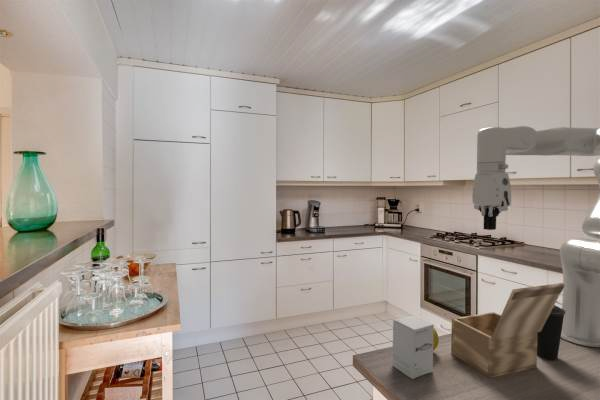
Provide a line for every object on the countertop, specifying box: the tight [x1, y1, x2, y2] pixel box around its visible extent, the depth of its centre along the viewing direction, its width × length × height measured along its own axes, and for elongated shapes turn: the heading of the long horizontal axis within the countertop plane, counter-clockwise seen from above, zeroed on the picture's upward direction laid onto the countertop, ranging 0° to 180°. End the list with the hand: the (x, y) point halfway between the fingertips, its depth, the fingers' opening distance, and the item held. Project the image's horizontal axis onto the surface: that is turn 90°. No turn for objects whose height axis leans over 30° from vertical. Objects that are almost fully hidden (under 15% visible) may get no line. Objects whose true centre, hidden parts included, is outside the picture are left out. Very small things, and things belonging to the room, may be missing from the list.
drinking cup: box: [537, 305, 566, 361], centre depth 91 cm, size 8×8×20 cm
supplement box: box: [391, 315, 435, 380], centre depth 84 cm, size 7×7×13 cm
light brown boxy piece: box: [450, 311, 538, 379], centre depth 89 cm, size 16×13×10 cm
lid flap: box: [491, 282, 565, 341], centre depth 80 cm, size 17×15×1 cm
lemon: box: [433, 328, 440, 351], centre depth 93 cm, size 6×6×8 cm
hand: (489, 229), depth 99 cm, fingers closed
